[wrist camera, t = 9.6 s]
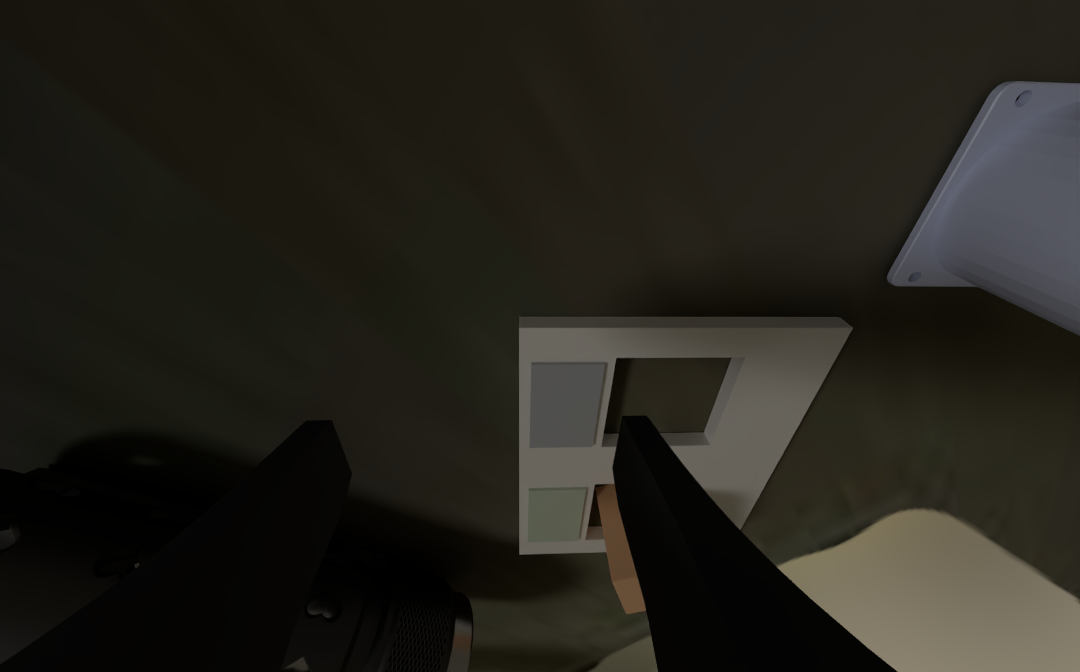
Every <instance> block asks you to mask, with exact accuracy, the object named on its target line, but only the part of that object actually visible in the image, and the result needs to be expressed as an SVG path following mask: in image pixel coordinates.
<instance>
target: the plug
mask: <svg viewBox="0 0 1080 672" xmlns="http://www.w3.org/2000/svg"><path fill="white" fill-rule="evenodd" d="M595 489H596V495H597V500H598V506H599V512H600V517H601V523H602V528H603V534H604V540H605V545H606V551H607V557H608V562H609V568H610V574H611V579H612V583H613V585H614V587H615V590H616V592H617V594H618V596H619V599H620V601H621V603H622V605H623V608H624V610H625V612H626V614H630V613H636V612H641V611H646V608H645V603H644V599H643V596H642V592H641V588H640V585H639V581H638V578H637V574H636V570H635V567H634V563H633V559H632V556H631V552H630V548H629V545H628V541H627V538H626V534H625V530H624V526H623V523H622V519H621V515H620V512H619V508H618V502H617V496H616V490H615V484H608V485H604V486H600V487H595Z"/></svg>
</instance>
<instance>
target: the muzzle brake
mask: <svg viewBox="0 0 1080 672" xmlns="http://www.w3.org/2000/svg"><path fill="white" fill-rule="evenodd" d="M204 512H206V511H205V510H201V509H197V508H194V507H190V506H186V505H182V504H178V503H175V502H171V501H167V500H163V499H160V498H156V497H152V496H148V495H145V494H141V493H137V492H133V491H129V490H126V489H122V488H118V487H114V486H111V485H107V484H103V483H99V482H95V481H92V480H88V479H84V478H80V477H77V476H73V475H69V474H65V473H61V472H58V471H54V470H50V469H46V468H37V469H35V470H32V471H30V472H27V473H25V474H22V473H19V472H15V471H11V470H6V469H0V664H1V663H3V662H4V661H6V660H7V659H9V658H10V657H12V656H13V655H15V654H16V653H18V652H19V651H21V650H22V649H24V648H25V647H26V646H28V645H29V644H31V643H32V642H34V641H35V640H37V639H38V638H39V637H41V636H42V635H44V634H45V633H47V632H48V631H50V630H51V629H52V628H54V627H55V626H57V625H58V624H60V623H61V622H63V621H64V620H65V619H67V618H68V617H70V616H71V615H73V614H74V613H76V612H77V611H78V610H80V609H81V608H83V607H84V606H86V605H87V604H89V603H90V602H91V601H93V600H94V599H95V598H97V597H98V596H100V595H101V594H102V593H104V592H105V591H106V590H108V589H109V588H110V587H112V586H113V585H114V584H116V583H117V582H118V581H120V580H121V579H122V578H124V577H125V576H126V575H128V574H129V573H130V572H132V571H133V570H134V569H135V566H134V564H136V563H139V564H140V565H141V564H142V563H144V562H145V561H146V560H147V559H149V558H150V557H151V556H152V555H154V554H155V553H156V552H158V551H159V550H160V549H161V548H163V547H164V546H165V545H166V544H168V543H169V542H170V541H171V540H173V539H174V538H175V537H176V536H177V535H178V534H180V533H181V532H182V531H183V530H184V529H186V528H187V527H188V526H189V525H190V524H191V523H193V522H194V521H195V520H196V519H197V518H199V517H200V516H201V515H202V514H203V513H204ZM472 643H473V613H472V607H471V604H470V601H469V599H468V598H467V597H466V595H465V594H463V593H461V592H457V591H453V590H452V588H451V586H450V585H449V583H448V582H447V581H446V580H445V579H444V578H443V577H440V576H437V575H433V574H429V573H425V572H421V571H417V570H414V569H410V568H406V567H402V566H397V565H396V566H394V567H392V568H389V567H387V556H386V555H383V554H379V553H375V552H371V551H368V550H364V549H360V548H357V547H353V546H349V545H344V546H343V547H342V548H341V549H340V550H339V551H338V552H337V553H332V552H328V551H326V552H325V555H324V557H323V559H322V562H321V564H320V567H319V569H318V571H317V574H316V576H315V579H314V581H313V583H312V586H311V588H310V591H309V593H308V596H307V598H306V600H305V603H304V605H303V608H302V610H301V612H300V615H299V618H298V620H297V623H296V626H295V628H294V631H293V634H292V636H291V640H290V643H289V646H288V649H287V652H286V655H285V658H284V662H283V665H282V668H281V671H280V672H468V669H469V663H470V658H471V652H472Z"/></svg>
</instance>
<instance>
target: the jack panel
mask: <svg viewBox="0 0 1080 672" xmlns="http://www.w3.org/2000/svg"><path fill="white" fill-rule="evenodd" d="M852 329H853V327H851V326H850V325H849V324H848V323H846V322H845V321H844V320H843V319H841V318H840V317H519V555H522V554H556V553H590V552H607V551H606V545H605V540H604V534H603V528H602V526H594V527H588V522H589V516H590V510H591V504H592V498H593V492H594V486H595V484H614V477H613V470H612V466H613V461H614V456H615V451H616V446H617V441H618V436H619V434H604V428H605V422H606V416H607V410H608V404H609V398H610V392H611V387H612V381H613V375H614V369H615V363H616V358H707V357H732V359H731V361H730V364H729V367H728V369H727V372H726V375H725V377H724V380H723V383H722V385H721V388H720V391H719V393H718V396H717V399H716V401H715V404H714V407H713V409H712V412H711V415H710V417H709V420H708V423H707V425H706V428H705V431H704V432H694V433H660V434H661V436H662V437H663V438H664V440H665V441H666V442H667V444H668V445H669V446H670V448H671V449H672V450H673V451H674V453H675V454H676V455H677V457H678V458H679V459H680V461H681V462H682V463H683V464H684V466H685V467H686V468H687V469H688V471H689V472H690V473H691V474H692V475H693V477H694V478H695V479H696V480H697V481H698V483H699V484H700V485H701V486H702V488H703V489H704V490H705V491H706V492H707V494H708V495H709V496H710V497H711V498H712V499H713V500H714V502H715V503H716V504H717V505H718V506H719V507H720V509H721V510H722V511H723V512H724V513H725V514H726V515H727V516H728V517H729V518H730V520H731V521H732V522H733V523H734V524H735V525H736V526H737V527H738V528H739V529H740V530H741V528H742V526H743V524H744V522H745V521H746V519H747V517H748V515H749V513H750V512H751V510H752V508H753V506H754V505H755V503H756V501H757V499H758V497H759V496H760V494H761V492H762V490H763V488H764V487H765V485H766V483H767V481H768V479H769V478H770V476H771V474H772V472H773V471H774V469H775V467H776V465H777V463H778V462H779V460H780V458H781V456H782V454H783V453H784V451H785V449H786V447H787V445H788V444H789V442H790V440H791V438H792V436H793V435H794V433H795V431H796V429H797V428H798V426H799V424H800V422H801V420H802V419H803V417H804V415H805V413H806V411H807V410H808V408H809V406H810V404H811V402H812V401H813V399H814V397H815V395H816V394H817V392H818V390H819V388H820V386H821V385H822V383H823V381H824V379H825V377H826V376H827V374H828V372H829V370H830V368H831V367H832V365H833V363H834V361H835V359H836V358H837V356H838V354H839V352H840V351H841V349H842V347H843V345H844V343H845V342H846V340H847V338H848V336H849V334H850V333H851V331H852Z"/></svg>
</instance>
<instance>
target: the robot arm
mask: <svg viewBox="0 0 1080 672" xmlns="http://www.w3.org/2000/svg"><path fill="white" fill-rule="evenodd" d="M1020 94H1021V95H1020ZM1019 95H1020V97H1019V99H1018V100H1017V101H1016V99H1017V97H1018V96H1019ZM1015 101H1016V102H1015ZM911 274H912V275H911ZM887 281H888V282H889V283H891V284H892V285H894V286H929V287H979V288H981V289H984V290H986V291H988V292H990V293H992V294H994V295H996V296H998V297H1000V298H1002V299H1004V300H1006V301H1008V302H1010V303H1013V304H1015V305H1017V306H1019V307H1021V308H1023V309H1025V310H1027V311H1029V312H1031V313H1033V314H1035V315H1037V316H1039V317H1041V318H1044V319H1046V320H1048V321H1050V322H1052V323H1054V324H1056V325H1058V326H1060V327H1062V328H1064V329H1066V330H1068V331H1070V332H1073V333H1075V334H1077V335H1079V336H1080V84H1079V83H1049V82H1020V81H1009V82H1004V83H1002V84H1000V85H999V86H997V87H996V88H995V89H994V90H993V91H992V92H991V93H990V95H989V96H988V98H987V99H986V101H985V103H984V105H983V106H982V108H981V110H980V112H979V113H978V115H977V117H976V119H975V121H974V122H973V124H972V126H971V128H970V129H969V131H968V133H967V135H966V136H965V138H964V140H963V142H962V144H961V145H960V147H959V149H958V151H957V152H956V154H955V156H954V158H953V159H952V161H951V163H950V165H949V167H948V168H947V170H946V172H945V174H944V175H943V177H942V179H941V181H940V182H939V184H938V186H937V188H936V190H935V191H934V193H933V195H932V197H931V198H930V200H929V202H928V204H927V205H926V207H925V209H924V211H923V213H922V214H921V216H920V218H919V220H918V221H917V223H916V225H915V227H914V228H913V230H912V232H911V234H910V236H909V237H908V239H907V241H906V243H905V244H904V246H903V248H902V250H901V251H900V253H899V255H898V257H897V259H896V260H895V262H894V264H893V266H892V267H891V269H890V271H889V273H888V275H887ZM612 470H613V477H614V484H615V490H616V496H617V502H618V508H619V512H620V515H621V519H622V523H623V526H624V530H625V534H626V538H627V541H628V545H629V548H630V552H631V556H632V559H633V563H634V567H635V570H636V574H637V578H638V581H639V585H640V588H641V592H642V596H643V599H644V603H645V608H646V612H647V616H648V620H649V625H650V631H651V636H652V641H653V647H654V652H655V657H656V662H657V668H658V672H897V671H896V670H895V669H893V668H892V667H891V666H890V665H888V664H887V663H886V662H885V661H883V660H882V659H881V658H880V657H878V656H877V655H876V654H875V653H873V652H872V651H871V650H870V649H868V648H867V647H866V646H865V645H864V644H862V643H861V642H860V641H859V640H858V639H857V638H856V637H854V636H853V635H852V634H851V633H850V632H848V631H847V630H846V629H845V628H844V627H843V626H842V625H840V624H839V623H838V622H837V621H836V620H834V619H833V618H832V617H831V616H830V615H829V614H828V613H827V612H825V611H824V610H823V609H822V608H821V607H820V606H818V605H817V604H816V603H815V602H814V601H813V600H811V599H810V598H809V597H808V596H807V595H806V594H805V593H804V592H803V591H802V590H801V589H799V588H798V587H797V586H796V585H795V584H794V583H793V582H792V581H791V580H790V579H789V578H788V577H787V576H786V575H784V574H783V573H782V572H781V571H780V570H779V569H778V568H777V567H776V566H775V565H774V564H773V563H772V562H771V561H770V560H769V559H768V558H767V557H766V556H765V555H764V554H763V553H762V552H761V551H760V550H759V549H758V548H757V547H756V546H755V545H754V544H753V543H752V542H751V541H750V540H749V539H748V538H747V537H746V536H745V535H744V534H743V533H742V531H741V530H740V529H739V528H738V527H737V526H736V525H735V524H734V523H733V522H732V521H731V520H730V518H729V517H728V516H727V515H726V514H725V513H724V512H723V511H722V510H721V509H720V507H719V506H718V505H717V504H716V503H715V502H714V500H713V499H712V498H711V497H710V496H709V495H708V494H707V492H706V491H705V490H704V489H703V488H702V486H701V485H700V484H699V483H698V481H697V480H696V479H695V478H694V477H693V475H692V474H691V473H690V472H689V471H688V469H687V468H686V467H685V466H684V464H683V463H682V462H681V461H680V459H679V458H678V457H677V455H676V454H675V453H674V451H673V450H672V449H671V448H670V446H669V445H668V444H667V442H666V441H665V440H664V438H663V437H662V436H661V434H660V433H659V431H658V430H657V429H656V427H655V426H654V425H653V423H652V422H651V421H650V419H649V418H648V417H647V416H622V420H621V425H620V431H619V436H618V441H617V446H616V451H615V456H614V461H613V466H612ZM351 476H352V472H351V470H350V467H349V464H348V462H347V459H346V456H345V454H344V451H343V448H342V446H341V443H340V441H339V438H338V435H337V433H336V430H335V427H334V425H333V422H332V420H322V421H306V422H304V423H303V424H302V425H301V426H300V427H299V428H298V429H297V430H295V431H294V432H293V433H292V434H291V435H290V436H289V437H288V438H287V439H286V440H285V441H284V442H282V443H281V444H280V445H279V446H278V447H277V448H276V449H275V450H274V451H273V452H272V453H271V454H270V455H268V456H267V457H266V458H265V459H264V460H263V461H262V462H261V463H260V464H259V465H258V466H257V467H255V468H254V469H253V470H252V471H251V472H250V473H249V474H248V475H247V476H246V477H244V478H243V479H242V480H241V481H240V482H239V483H238V484H237V485H236V486H234V487H233V488H232V489H231V490H230V491H229V492H228V493H227V494H226V495H224V496H223V497H222V498H221V499H220V500H219V501H218V502H216V503H215V504H214V505H213V506H212V507H210V508H209V509H208V510H207V511H206V512H204V513H203V514H202V515H201V516H200V517H199V518H197V519H196V520H195V521H194V522H193V523H191V524H190V525H189V526H188V527H187V528H186V529H184V530H183V531H182V532H181V533H180V534H178V535H177V536H176V537H175V538H174V539H173V540H171V541H170V542H169V543H168V544H166V545H165V546H164V547H163V548H161V549H160V550H159V551H158V552H156V553H155V554H154V555H152V556H151V557H150V558H149V559H147V560H146V561H145V562H144V563H142V564H141V565H140V566H138V567H137V568H136V569H134V570H133V571H132V572H130V573H129V574H128V575H126V576H125V577H124V578H122V579H121V580H120V581H118V582H117V583H116V584H114V585H113V586H112V587H110V588H109V589H108V590H106V591H105V592H104V593H102V594H101V595H100V596H98V597H97V598H95V599H94V600H93V601H91V602H90V603H89V604H87V605H86V606H84V607H83V608H81V609H80V610H78V611H77V612H76V613H74V614H73V615H71V616H70V617H68V618H67V619H65V620H64V621H63V622H61V623H60V624H58V625H57V626H55V627H54V628H52V629H51V630H50V631H48V632H47V633H45V634H44V635H42V636H41V637H39V638H38V639H37V640H35V641H34V642H32V643H31V644H29V645H28V646H26V647H25V648H24V649H22V650H21V651H19V652H18V653H16V654H15V655H13V656H12V657H10V658H9V659H7V660H6V661H4V662H3V663H1V664H0V672H280V671H281V668H282V665H283V662H284V658H285V655H286V652H287V649H288V646H289V643H290V640H291V636H292V634H293V631H294V628H295V626H296V623H297V620H298V618H299V615H300V612H301V610H302V608H303V605H304V603H305V600H306V598H307V596H308V593H309V591H310V588H311V586H312V583H313V581H314V579H315V576H316V574H317V571H318V569H319V567H320V564H321V562H322V559H323V557H324V555H325V552H326V550H327V547H328V545H329V542H330V540H331V538H332V535H333V533H334V530H335V528H336V525H337V523H338V520H339V518H340V515H341V512H342V508H343V505H344V502H345V498H346V495H347V491H348V487H349V483H350V479H351Z"/></svg>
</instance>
